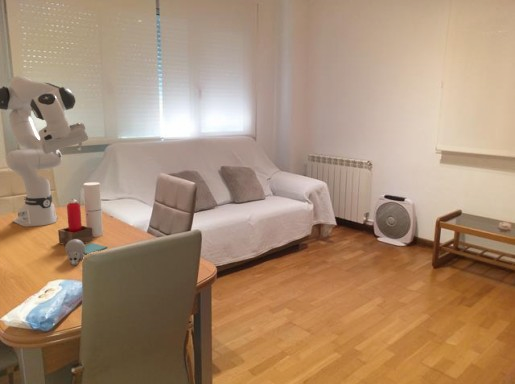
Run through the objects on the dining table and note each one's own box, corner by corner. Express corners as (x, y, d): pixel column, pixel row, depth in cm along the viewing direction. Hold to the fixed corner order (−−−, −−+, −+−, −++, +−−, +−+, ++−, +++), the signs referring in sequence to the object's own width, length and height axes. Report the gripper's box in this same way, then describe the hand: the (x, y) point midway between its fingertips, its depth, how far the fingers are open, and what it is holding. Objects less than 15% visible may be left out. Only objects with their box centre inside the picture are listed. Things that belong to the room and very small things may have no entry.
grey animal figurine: (64, 272, 157) (60, 256, 152) (68, 251, 167) (65, 236, 162) (84, 271, 159) (80, 255, 154) (87, 250, 168) (84, 234, 164)
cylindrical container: (97, 237, 191) (94, 185, 186) (83, 236, 192) (80, 184, 187) (105, 232, 198) (102, 182, 192) (92, 231, 199) (89, 181, 194)
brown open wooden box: (59, 242, 182) (58, 230, 181) (78, 236, 191) (77, 224, 190) (74, 246, 178) (73, 233, 177) (92, 240, 187) (92, 227, 185)
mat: (72, 250, 173) (72, 249, 173) (91, 244, 182) (91, 242, 182) (88, 255, 169) (88, 253, 168) (107, 248, 177) (107, 246, 177)
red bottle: (84, 239, 187) (81, 197, 183) (79, 243, 182) (76, 200, 178) (72, 239, 187) (69, 197, 183) (67, 243, 182) (64, 200, 178)
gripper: (80, 118, 188) (89, 142, 197) (34, 132, 180) (46, 157, 189) (84, 124, 184) (93, 149, 193) (37, 139, 176) (49, 164, 186)
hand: (70, 153), depth 191 cm, fingers open, 8 cm apart
